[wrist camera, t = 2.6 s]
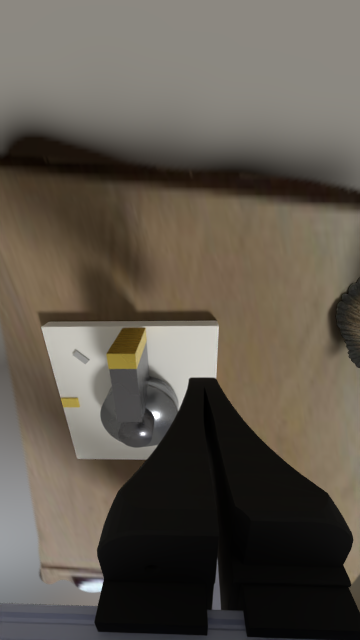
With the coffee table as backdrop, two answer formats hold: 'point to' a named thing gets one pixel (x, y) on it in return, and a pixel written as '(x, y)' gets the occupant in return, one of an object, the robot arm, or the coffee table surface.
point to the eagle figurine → (350, 321)
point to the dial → (136, 394)
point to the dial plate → (95, 382)
